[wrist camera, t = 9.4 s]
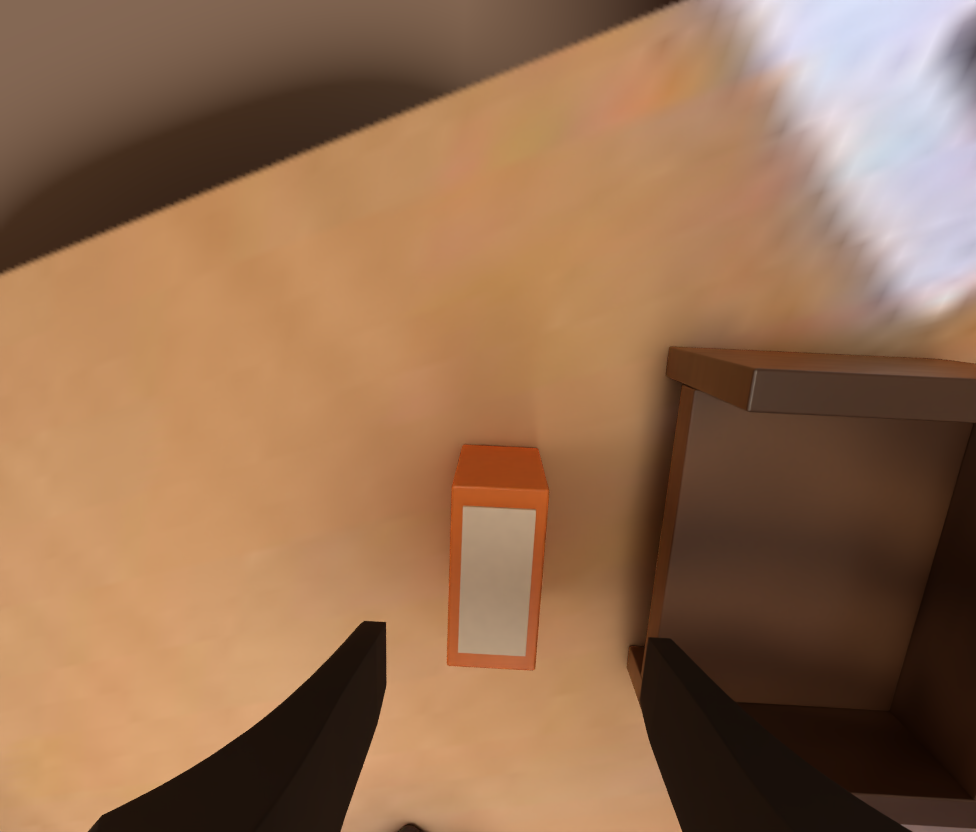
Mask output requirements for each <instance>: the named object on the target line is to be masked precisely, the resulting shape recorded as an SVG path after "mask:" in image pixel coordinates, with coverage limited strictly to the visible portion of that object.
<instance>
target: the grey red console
mask: <svg viewBox="0 0 976 832" xmlns="http://www.w3.org/2000/svg"><path fill="white" fill-rule="evenodd" d="M398 832H421V831H420V830H418V829H417V828H416V827H414V826H412V825H407V826H405V827H403V828H402V829H401V830H400V831H398Z"/></svg>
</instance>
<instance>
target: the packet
mask: <svg viewBox="0 0 976 832" xmlns="http://www.w3.org/2000/svg"><path fill="white" fill-rule="evenodd" d="M548 501H549V488H548V484H547V481H546V477H545V473H544V469H543V465H542V461H541V457H540V454H539V450H538V449H537V448H524V447H504V446H483V445H463V446H462V449H461V453H460V457H459V461H458V465H457V468H456V472H455V476H454V480H453V484H452V495H451V531H450V566H449V602H448V638H447V665H449V666H462V667H480V668H498V669H516V670H534V669H535V665H536V652H537V639H538V627H539V614H540V602H541V589H542V577H543V564H544V552H545V539H546V527H547V514H548Z"/></svg>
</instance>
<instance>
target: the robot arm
mask: <svg viewBox="0 0 976 832" xmlns="http://www.w3.org/2000/svg"><path fill="white" fill-rule="evenodd" d="M385 689H386V622H374V621H364V622H362V623H361V624H360V625H359V626H358V627H357V628H356V629H355V631H354V632H353V633H352V634H351V635H350V636H349V637H348V638H347V639H346V641H345V642H344V643H343V644H342V645H341V646H340V647H339V648H338V649H337V650H336V651H335V652H334V654H333V655H332V656H331V657H330V658H329V659H328V660H327V661H326V662H325V663H324V664H323V665H322V666H321V667H320V668H319V669H318V670H317V671H316V672H315V673H314V674H313V675H312V676H311V677H310V678H309V679H308V680H307V681H306V682H304V683H303V684H302V685H301V686H300V687H299V688H298V689H297V690H296V691H295V692H294V693H293V694H291V695H290V696H289V697H288V698H287V699H286V700H285V701H284V702H283V703H281V704H280V705H279V706H278V707H277V708H275V709H274V710H273V711H272V712H271V713H269V714H268V715H267V716H266V717H264V718H263V719H262V720H261V721H259V722H258V723H257V724H256V725H254V726H253V727H252V728H250V729H249V730H248V731H246V732H245V733H243V734H242V735H240V736H239V737H238V738H236V739H235V740H233V741H232V742H230V743H229V744H227V745H226V746H224V747H223V748H222V749H220V750H219V751H217V752H216V753H214V754H213V755H211V756H210V757H208V758H207V759H205V760H203V761H202V762H200V763H198V764H197V765H195V766H194V767H192V768H190V769H189V770H187V771H185V772H184V773H182V774H180V775H178V776H177V777H175V778H173V779H171V780H170V781H168V782H166V783H164V784H163V785H161V786H159V787H157V788H155V789H153V790H151V791H150V792H148V793H146V794H144V795H142V796H140V797H138V798H136V799H134V800H132V801H130V802H128V803H126V804H124V805H122V806H120V807H118V808H116V809H114V810H112V811H110V812H108V813H106V814H104V815H102V816H101V817H100V818H99V820H98V821H97V822H96V823H95V824H94V825H93V826H92V828H91V829H90V830H89V831H88V832H340V831H341V828H342V825H343V822H344V818H345V815H346V812H347V810H348V807H349V804H350V801H351V798H352V795H353V792H354V790H355V787H356V784H357V781H358V778H359V775H360V773H361V770H362V767H363V764H364V761H365V758H366V755H367V753H368V750H369V747H370V744H371V741H372V738H373V735H374V732H375V729H376V726H377V723H378V719H379V715H380V711H381V707H382V702H383V698H384V693H385ZM640 704H641V709H642V713H643V717H644V722H645V726H646V730H647V734H648V738H649V741H650V744H651V747H652V750H653V753H654V755H655V758H656V761H657V764H658V767H659V769H660V772H661V775H662V778H663V780H664V783H665V786H666V788H667V791H668V794H669V797H670V799H671V802H672V805H673V807H674V810H675V813H676V816H677V818H678V821H679V824H680V827H681V829H682V832H976V829H970V828H953V827H936V826H920V825H903V824H899V823H897V822H896V821H894V820H893V819H891V818H889V817H888V816H886V815H884V814H883V813H881V812H879V811H878V810H876V809H875V808H873V807H871V806H870V805H868V804H867V803H865V802H864V801H862V800H861V799H859V798H857V797H856V796H854V795H853V794H852V793H850V792H849V791H847V790H846V789H844V788H843V787H841V786H840V785H838V784H837V783H836V782H834V781H833V780H831V779H830V778H828V777H827V776H825V775H824V774H823V773H821V772H820V771H818V770H817V769H816V768H814V767H813V766H812V765H810V764H809V763H808V762H806V761H805V760H804V759H802V758H801V757H800V756H798V755H797V754H796V753H795V752H793V751H792V750H791V749H789V748H788V747H787V746H786V745H784V744H783V743H782V742H781V741H779V740H778V739H777V738H776V737H774V736H773V735H772V734H771V733H770V732H768V731H767V730H766V729H765V728H764V727H763V726H761V725H760V724H759V723H758V722H757V721H756V720H755V719H754V718H752V717H751V716H750V715H749V714H748V713H747V712H746V711H744V710H743V709H742V708H741V707H740V706H739V705H738V704H737V703H736V702H735V701H734V700H733V699H731V698H730V697H729V696H728V695H727V694H726V693H725V692H724V691H723V690H722V689H721V688H720V687H719V686H718V685H717V684H716V683H715V682H714V681H713V680H712V679H711V678H710V677H709V676H708V675H707V674H706V673H705V672H704V671H703V670H702V669H701V668H700V667H699V666H698V665H697V664H696V663H695V662H694V661H693V660H692V659H691V658H690V657H689V656H688V655H687V654H686V653H685V652H684V651H683V650H682V649H681V648H680V647H679V646H678V645H677V644H676V643H675V642H674V641H673V640H672V639H671V638H655V637H648V643H647V650H646V657H645V664H644V671H643V678H642V685H641V693H640Z"/></svg>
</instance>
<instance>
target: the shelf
mask: <svg viewBox="0 0 976 832" xmlns="http://www.w3.org/2000/svg"><path fill="white" fill-rule="evenodd" d="M666 376H667V377H670V378H672V379H674V380H677V381H679V382H681V383H683V385H682V389H681V396H680V403H679V410H678V417H677V424H676V431H675V438H674V445H673V452H672V460H671V467H670V474H669V481H668V488H667V495H666V502H665V509H664V516H663V523H662V530H661V537H660V544H659V551H658V558H657V565H656V572H655V579H654V586H653V594H652V601H651V608H650V615H649V622H648V629H647V636H646V643H645V647H636V646H630V647H629V655H628V662H627V669H628V672H629V675H630V678H631V681H632V684H633V686H634V689H635V692H636V695H637V698H638V701H639V704H640V693H641V685H642V678H643V671H644V664H645V657H646V650H647V643H648V637H655V638H671V639H672V640H673V641H674V642H675V643H676V644H677V645H678V646H679V647H680V648H681V649H682V650H683V651H684V652H685V653H686V654H687V655H688V656H689V657H690V658H691V659H692V660H693V661H694V662H695V663H696V664H697V665H698V666H699V667H700V668H701V669H702V670H703V671H704V672H705V673H706V674H707V675H708V676H709V677H710V678H711V679H712V680H713V681H714V682H715V683H716V684H717V685H718V686H719V687H720V688H721V689H722V690H723V691H724V692H725V693H726V694H727V695H728V696H729V697H730V698H731V699H733V700H734V701H735V702H736V703H737V704H738V705H739V706H740V707H741V708H742V709H743V710H744V711H746V712H747V713H748V714H749V715H750V716H751V717H752V718H754V719H755V720H756V721H757V722H758V723H759V724H760V725H761V726H763V727H764V728H765V729H766V730H767V731H768V732H770V733H771V734H772V735H773V736H774V737H776V738H777V739H778V740H779V741H781V742H782V743H783V744H784V745H786V746H787V747H788V748H789V749H791V750H792V751H793V752H795V753H796V754H797V755H798V756H800V757H801V758H802V759H804V760H805V761H806V762H808V763H809V764H810V765H812V766H813V767H814V768H816V769H817V770H818V771H820V772H821V773H823V774H824V775H825V776H827V777H828V778H830V779H831V780H833V781H834V782H836V783H837V784H838V785H840V786H841V787H843V788H844V789H846V790H847V791H849V792H850V793H852V794H853V795H854V796H856V797H857V798H859V799H861V800H862V801H864V802H865V803H867V804H868V805H870V806H871V807H873V808H875V809H876V810H878V811H879V812H881V813H883V814H884V815H886V816H888V817H889V818H891V819H893V820H894V821H896V822H897V823H899V824H903V825H920V826H936V827H953V828H970V829H976V364H974V363H967V362H959V361H951V360H943V359H928V358H907V357H885V356H864V355H843V354H821V353H800V352H779V351H757V350H736V349H715V348H693V347H670V348H669V355H668V363H667V370H666ZM640 707H641V704H640Z"/></svg>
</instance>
